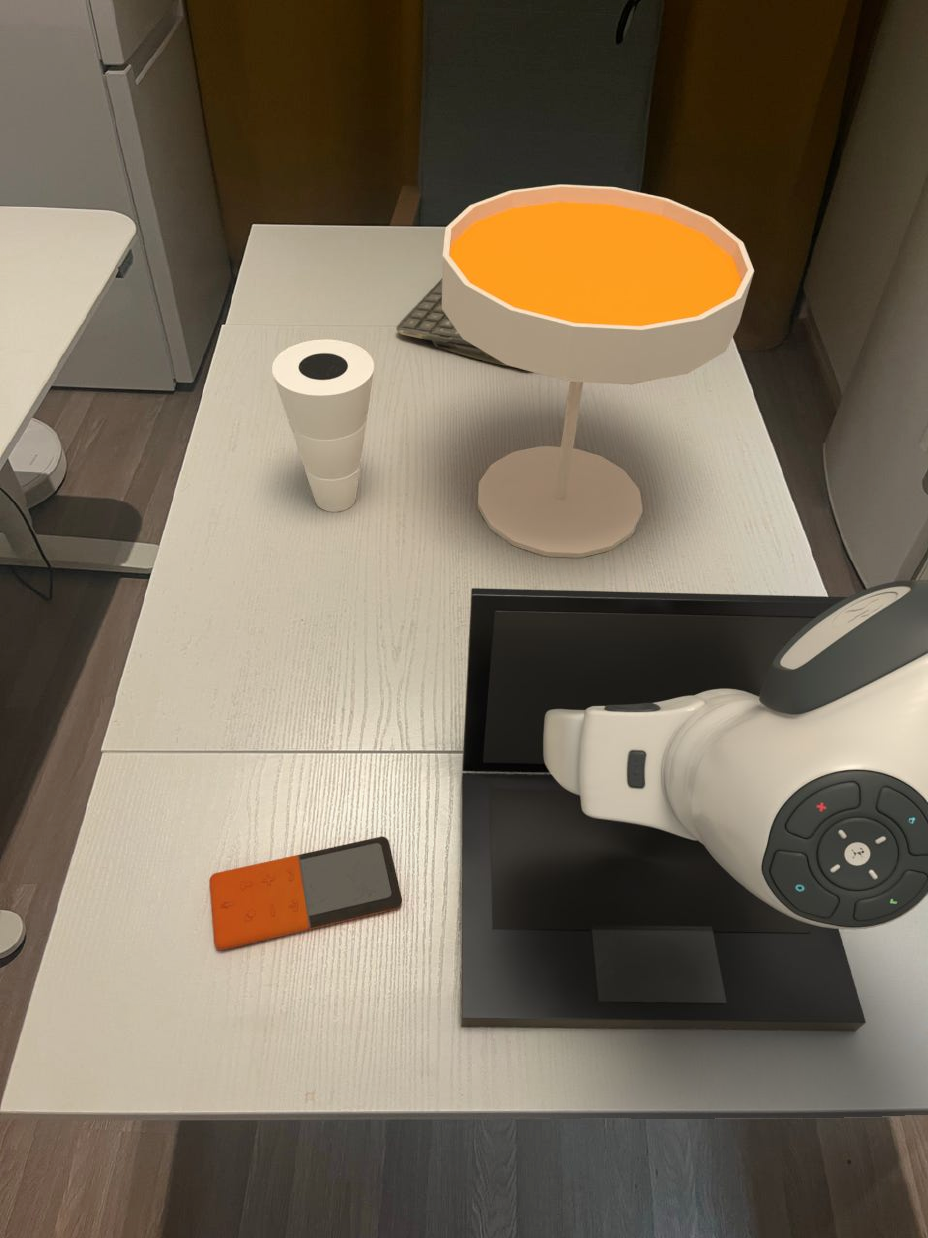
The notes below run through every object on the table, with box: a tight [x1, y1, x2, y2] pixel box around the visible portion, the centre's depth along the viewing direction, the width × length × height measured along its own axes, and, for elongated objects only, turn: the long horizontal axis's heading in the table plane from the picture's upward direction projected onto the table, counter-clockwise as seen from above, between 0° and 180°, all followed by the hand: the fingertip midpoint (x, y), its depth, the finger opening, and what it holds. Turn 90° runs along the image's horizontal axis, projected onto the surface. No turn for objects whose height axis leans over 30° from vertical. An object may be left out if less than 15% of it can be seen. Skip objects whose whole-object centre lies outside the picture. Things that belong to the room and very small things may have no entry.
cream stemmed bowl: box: [441, 183, 755, 559], centre depth 96 cm, size 30×30×31 cm
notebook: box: [460, 772, 866, 1032], centre depth 74 cm, size 21×30×2 cm
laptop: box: [395, 278, 517, 369], centre depth 134 cm, size 26×32×10 cm
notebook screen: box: [461, 587, 848, 774], centre depth 73 cm, size 21×30×1 cm
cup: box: [271, 339, 375, 513], centre depth 100 cm, size 11×11×18 cm
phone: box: [208, 836, 403, 951], centre depth 73 cm, size 6×1×15 cm
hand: (670, 725), depth 66 cm, fingers closed
